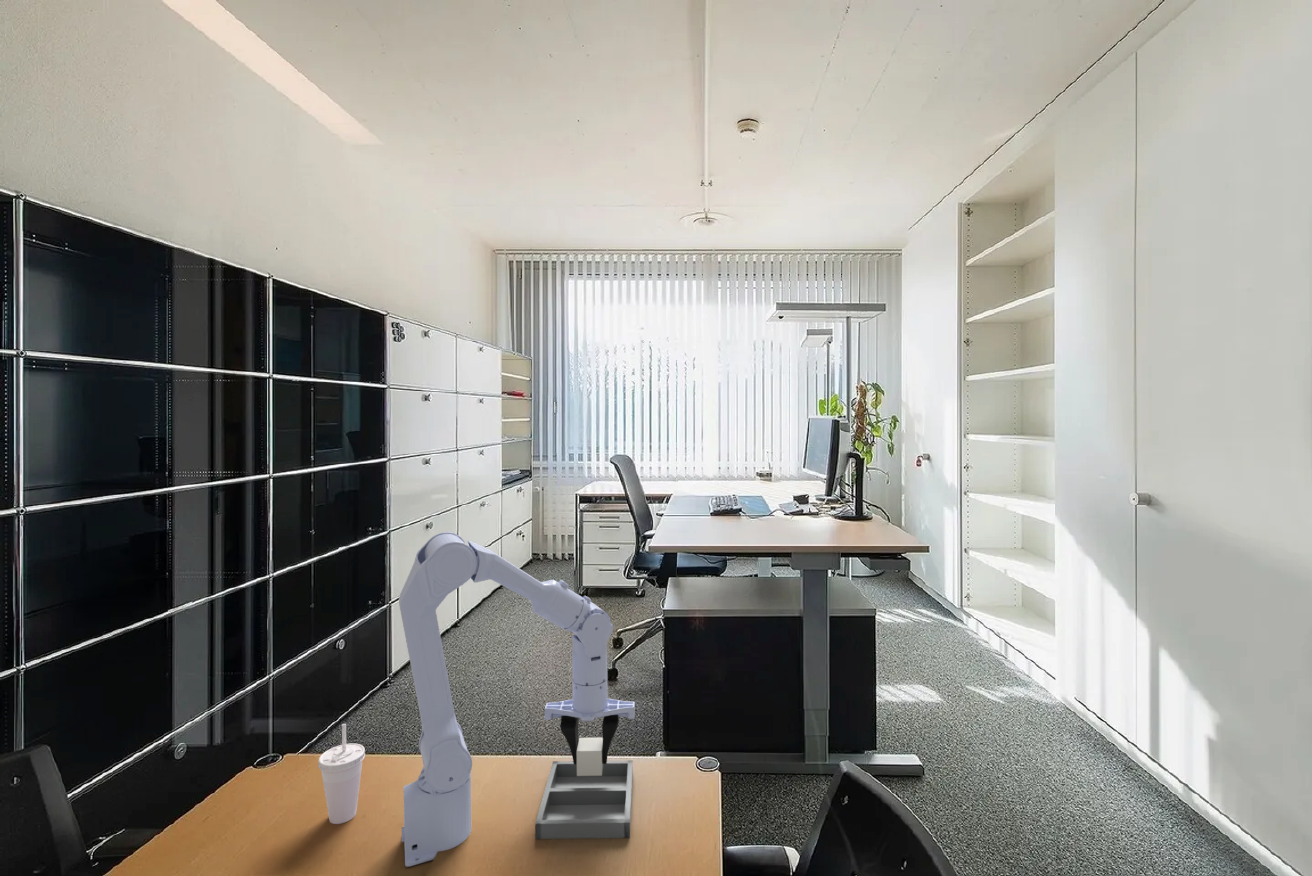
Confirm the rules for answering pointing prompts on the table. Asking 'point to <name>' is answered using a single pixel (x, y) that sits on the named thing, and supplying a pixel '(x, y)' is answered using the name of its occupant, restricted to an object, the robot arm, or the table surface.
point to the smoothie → (342, 779)
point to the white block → (589, 757)
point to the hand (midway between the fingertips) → (590, 760)
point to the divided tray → (586, 803)
